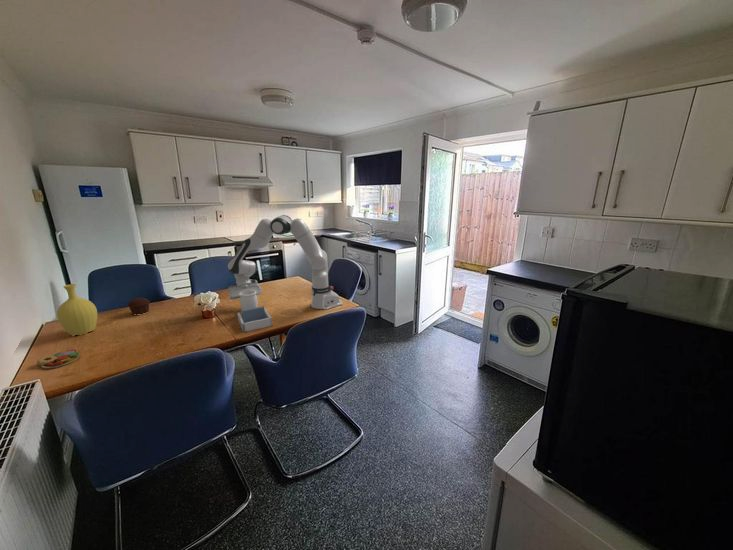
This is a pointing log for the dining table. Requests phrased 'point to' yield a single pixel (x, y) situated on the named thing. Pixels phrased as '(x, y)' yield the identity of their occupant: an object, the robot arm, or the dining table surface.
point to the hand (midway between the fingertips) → (247, 302)
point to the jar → (248, 299)
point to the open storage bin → (255, 323)
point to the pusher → (253, 314)
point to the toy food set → (58, 359)
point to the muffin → (139, 306)
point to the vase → (77, 313)
